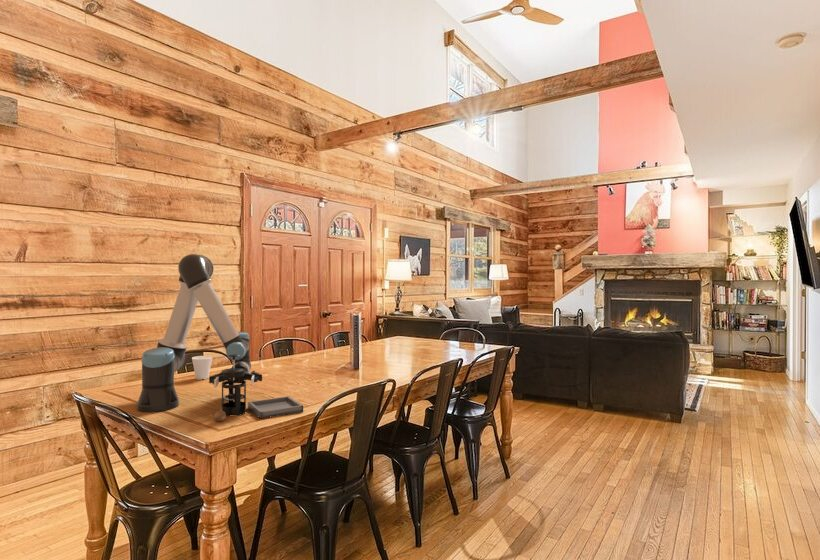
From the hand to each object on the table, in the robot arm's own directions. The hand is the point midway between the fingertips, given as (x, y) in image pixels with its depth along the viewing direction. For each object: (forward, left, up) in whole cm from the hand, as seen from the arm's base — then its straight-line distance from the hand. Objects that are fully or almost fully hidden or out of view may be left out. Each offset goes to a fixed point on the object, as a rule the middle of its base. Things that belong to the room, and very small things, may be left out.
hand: (233, 383), depth 186 cm
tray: (+16, -2, -13) cm, 20 cm away
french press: (+1, +3, -13) cm, 13 cm away
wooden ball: (-6, -5, -13) cm, 15 cm away
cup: (+2, +73, -13) cm, 74 cm away
